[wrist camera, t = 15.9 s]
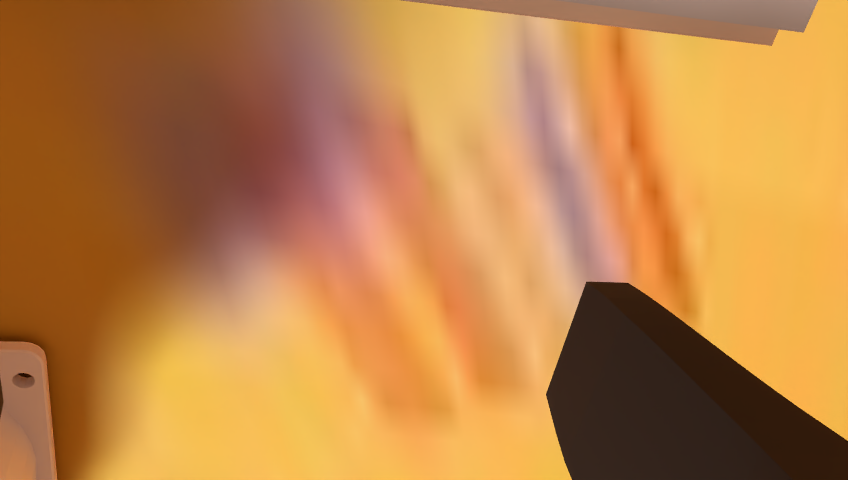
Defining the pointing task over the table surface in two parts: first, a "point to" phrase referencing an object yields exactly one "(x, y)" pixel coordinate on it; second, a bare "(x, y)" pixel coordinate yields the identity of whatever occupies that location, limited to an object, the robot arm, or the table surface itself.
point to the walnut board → (665, 15)
